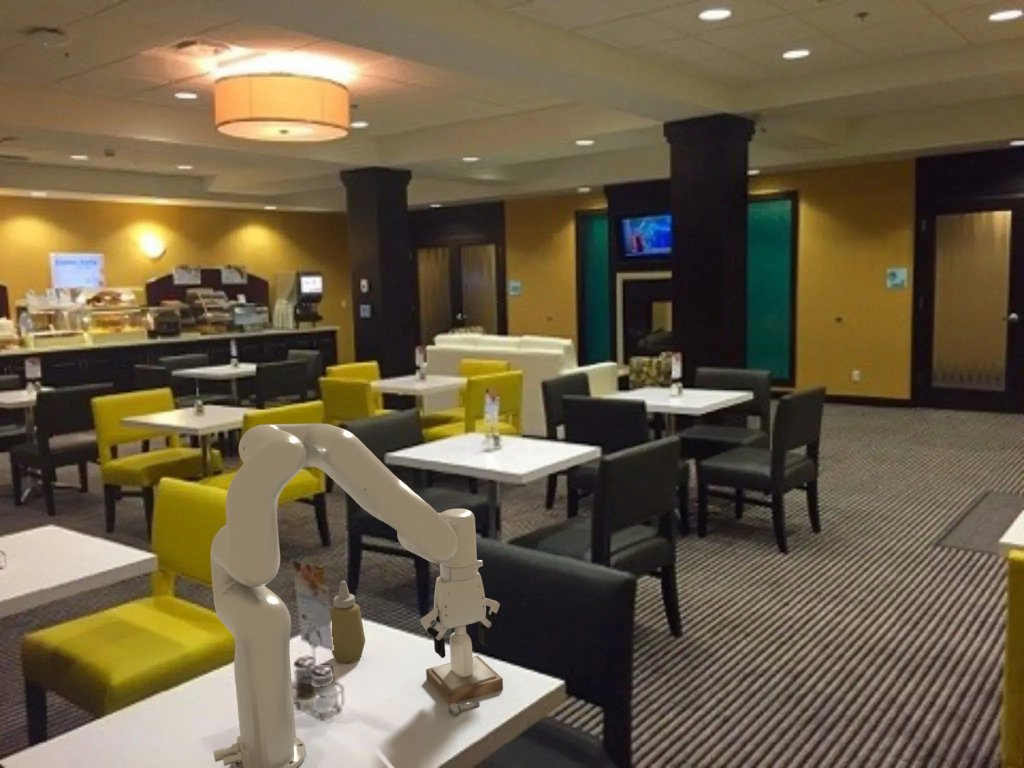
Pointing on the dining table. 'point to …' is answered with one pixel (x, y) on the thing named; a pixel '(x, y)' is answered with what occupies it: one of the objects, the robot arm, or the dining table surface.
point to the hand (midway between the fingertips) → (462, 649)
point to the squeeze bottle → (346, 627)
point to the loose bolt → (462, 707)
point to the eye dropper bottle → (461, 652)
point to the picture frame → (464, 681)
